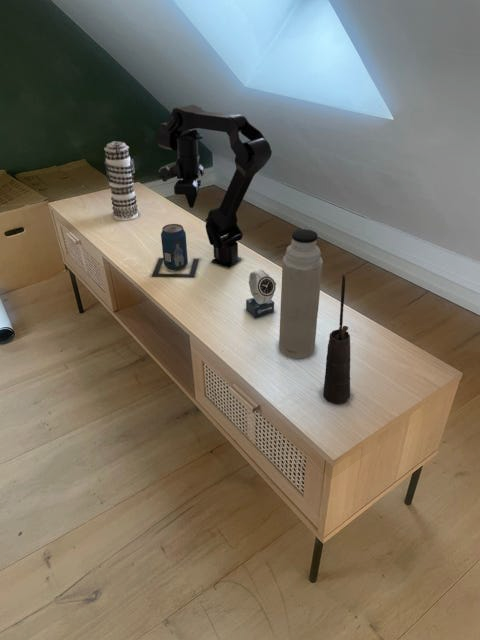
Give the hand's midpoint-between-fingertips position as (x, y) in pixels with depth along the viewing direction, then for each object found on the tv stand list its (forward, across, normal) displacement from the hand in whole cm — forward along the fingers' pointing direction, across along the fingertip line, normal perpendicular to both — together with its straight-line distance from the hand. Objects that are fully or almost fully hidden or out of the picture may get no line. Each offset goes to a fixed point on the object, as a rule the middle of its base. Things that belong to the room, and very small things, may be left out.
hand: (191, 207), depth 148 cm
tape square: (+13, +13, -4) cm, 19 cm away
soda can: (+13, +13, -4) cm, 19 cm away
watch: (+13, +36, +21) cm, 44 cm away
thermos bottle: (+13, +50, +30) cm, 60 cm away
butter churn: (+13, +65, +37) cm, 76 cm away
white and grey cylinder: (+13, -24, -27) cm, 39 cm away
